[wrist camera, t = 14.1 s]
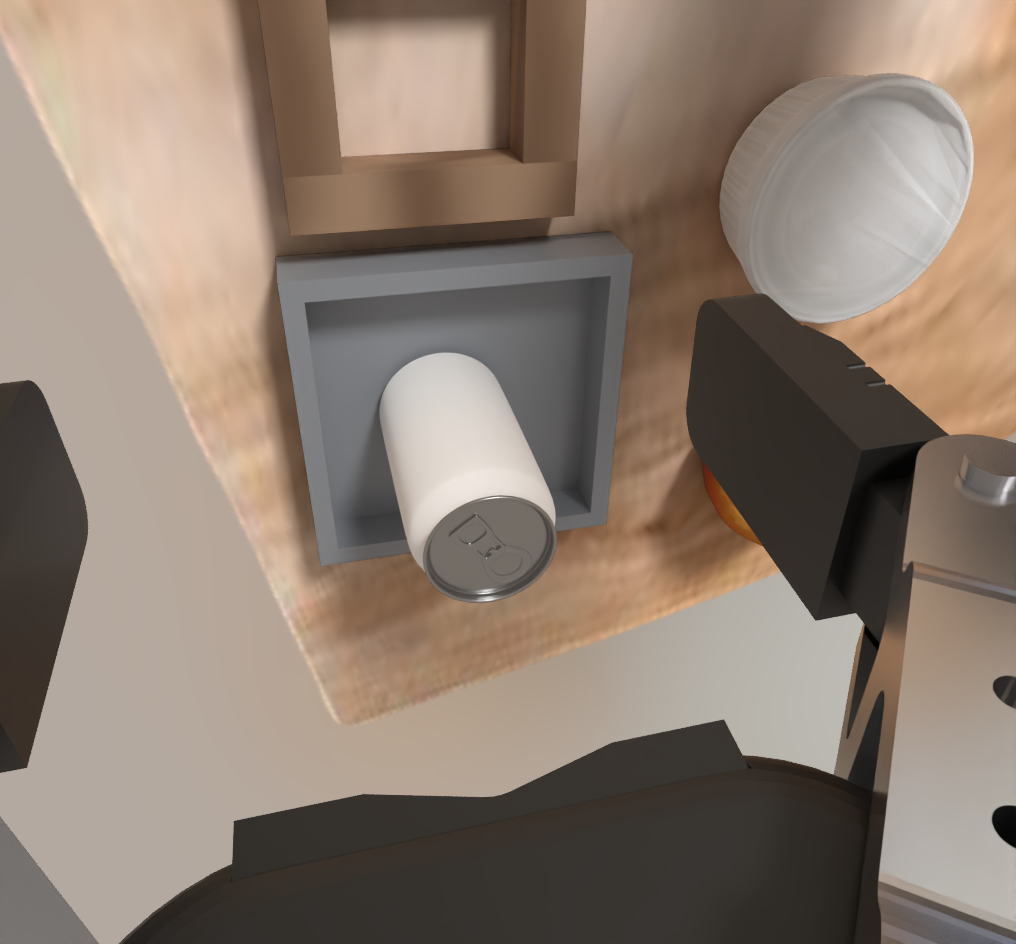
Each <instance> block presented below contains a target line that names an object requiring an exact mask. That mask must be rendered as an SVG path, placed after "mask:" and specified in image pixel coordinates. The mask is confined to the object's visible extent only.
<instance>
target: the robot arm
mask: <svg viewBox="0 0 1016 944" xmlns="http://www.w3.org/2000/svg"><path fill="white" fill-rule="evenodd" d="M686 415H687V425H688V431H689V435H690V438H691V441H692V444H693V446H694V448H695V450H696V452H697V453H698V455H699V456H700V457H701V459H702V460H703V462H704V463H705V465H706V466H707V467H708V469H709V470H710V472H711V473H712V474H713V476H714V477H715V479H716V480H717V482H718V483H719V484H720V486H721V487H722V489H723V490H724V491H725V493H726V494H727V496H728V497H729V499H730V500H731V501H732V503H733V504H734V506H735V507H736V508H737V510H738V511H739V513H740V514H741V516H742V517H743V518H744V520H745V521H746V523H747V524H748V525H749V527H750V528H751V530H752V531H753V533H754V534H755V535H756V537H757V538H758V540H759V541H760V542H761V544H762V545H763V547H764V548H765V550H766V551H767V552H768V554H769V555H770V557H771V558H772V559H773V561H774V562H775V564H776V565H777V567H778V568H779V569H780V571H781V572H782V574H783V575H784V576H785V578H786V579H787V581H788V582H789V583H790V585H791V586H792V588H793V589H794V591H795V592H796V593H797V595H798V596H799V598H800V599H801V601H802V602H803V603H804V605H805V606H806V608H807V609H808V610H809V612H810V613H811V615H812V616H813V618H814V619H815V620H822V619H826V618H832V617H837V616H842V615H847V614H853V613H857V615H858V616H859V617H860V618H861V620H862V621H863V623H864V624H863V627H862V630H861V633H860V636H859V639H858V643H857V646H856V652H855V657H854V663H853V669H852V675H851V681H850V686H849V692H848V698H847V703H846V709H845V715H844V721H843V727H842V732H841V738H840V744H839V750H838V755H837V761H836V766H835V770H834V775H833V774H830V773H827V772H824V771H821V770H819V769H816V768H813V767H809V766H805V765H801V764H797V763H793V762H788V761H785V760H779V759H772V758H765V757H758V756H743V755H742V753H741V751H740V750H739V748H738V746H737V744H736V742H735V740H734V738H733V736H732V734H731V732H730V730H729V729H728V727H727V725H726V723H725V721H724V720H719V721H715V722H710V723H705V724H700V725H695V726H690V727H686V728H681V729H676V730H671V731H666V732H661V733H657V734H652V735H647V736H642V737H637V738H632V739H628V740H623V741H618V742H613V743H610V744H608V745H606V746H604V747H602V748H600V749H598V750H596V751H594V752H592V753H590V754H588V755H586V756H583V757H581V758H580V759H577V760H575V761H573V762H571V763H569V764H567V765H565V766H563V767H561V768H558V769H556V770H554V771H552V772H550V773H548V774H546V775H544V776H542V777H540V778H538V779H536V780H533V781H531V782H529V783H527V784H525V785H523V786H521V787H519V788H517V789H515V790H513V791H511V792H508V793H505V794H503V795H499V796H494V797H453V796H412V795H372V794H371V795H369V794H362V795H357V796H353V797H348V798H343V799H339V800H333V801H328V802H324V803H319V804H314V805H309V806H304V807H299V808H295V809H290V810H285V811H280V812H275V813H270V814H266V815H261V816H256V817H251V818H247V819H242V820H237V821H234V834H233V860H232V864H231V865H229V866H227V867H225V868H222V869H220V870H218V871H216V872H214V873H212V874H210V875H209V876H207V877H205V878H204V879H202V880H200V881H199V882H197V883H195V884H194V885H192V886H190V887H189V888H187V889H185V890H184V891H182V892H181V893H179V894H178V895H176V896H175V897H174V898H172V899H171V900H170V901H168V902H167V903H166V904H164V905H163V906H162V907H161V908H159V909H157V910H156V911H155V912H153V913H152V914H151V915H150V916H149V917H148V918H146V919H145V920H144V921H143V922H142V923H141V924H140V925H139V926H137V927H136V928H135V929H134V930H133V931H132V932H131V933H130V934H128V935H127V936H126V937H125V938H124V939H123V940H122V941H121V942H120V943H119V944H1016V443H1012V442H1009V441H1006V440H1002V439H998V438H994V437H988V436H982V435H970V434H961V435H948V434H947V433H946V432H945V431H944V430H942V429H941V428H940V427H939V426H938V425H937V424H936V423H934V422H933V421H932V420H931V419H930V418H929V417H927V416H926V415H925V414H924V413H923V412H922V411H921V410H919V409H918V408H917V407H916V406H915V405H914V404H912V403H911V402H910V401H909V400H908V399H907V398H906V397H904V396H903V395H902V394H901V393H900V392H899V391H897V390H896V389H895V388H894V387H893V386H892V385H890V384H889V385H886V384H885V379H884V378H882V377H881V376H880V375H879V374H878V373H877V372H875V371H874V370H873V369H872V368H871V367H865V362H864V361H863V360H862V359H860V358H859V357H858V356H857V355H856V354H855V353H853V352H852V351H851V350H850V349H849V348H848V347H847V346H845V345H844V344H843V343H842V342H841V341H838V340H836V339H834V338H832V337H830V336H827V335H825V334H823V333H821V332H819V331H816V330H814V329H812V328H810V327H808V326H806V325H804V326H801V325H800V324H799V323H798V322H797V321H796V320H795V319H794V318H793V317H791V316H790V315H789V314H788V313H787V312H786V311H785V310H784V309H783V308H781V307H780V306H779V305H778V304H777V303H776V302H775V301H774V300H773V299H771V298H770V297H769V296H768V295H766V294H763V293H760V294H751V295H743V296H735V297H726V298H718V299H710V300H707V301H705V302H704V303H703V304H702V306H701V308H700V310H699V313H698V317H697V322H696V331H695V339H694V347H693V356H692V364H691V372H690V381H689V389H688V397H687V407H686ZM87 535H88V519H87V510H86V505H85V500H84V497H83V493H82V490H81V487H80V485H79V482H78V480H77V477H76V475H75V472H74V469H73V467H72V464H71V462H70V459H69V457H68V454H67V452H66V449H65V447H64V445H63V442H62V439H61V437H60V434H59V432H58V429H57V427H56V425H55V422H54V419H53V417H52V414H51V412H50V409H49V407H48V404H47V402H46V399H45V397H44V395H43V393H42V392H41V390H40V389H39V387H38V386H37V385H36V384H35V383H34V382H32V381H30V380H27V381H18V382H10V383H2V384H0V773H1V772H7V771H12V770H18V769H22V768H27V765H28V762H29V758H30V754H31V750H32V746H33V743H34V739H35V735H36V731H37V727H38V723H39V719H40V716H41V712H42V708H43V705H44V701H45V697H46V693H47V690H48V686H49V682H50V678H51V675H52V671H53V667H54V663H55V659H56V656H57V652H58V648H59V644H60V641H61V637H62V633H63V629H64V626H65V622H66V618H67V614H68V610H69V606H70V603H71V599H72V595H73V591H74V588H75V583H76V580H77V576H78V573H79V569H80V565H81V561H82V557H83V554H84V550H85V546H86V541H87ZM0 944H99V943H98V942H97V940H96V939H95V938H94V937H93V935H92V934H91V933H90V931H89V930H88V929H87V928H86V926H85V925H84V924H83V922H82V921H81V920H80V919H79V917H78V916H77V915H76V913H75V912H74V911H73V910H72V908H71V907H70V906H69V904H68V903H67V902H66V901H65V899H64V898H63V897H62V895H61V894H60V893H59V892H58V891H57V889H56V888H55V886H54V885H53V884H52V883H51V881H50V880H49V879H48V877H47V876H46V875H45V874H44V872H43V871H42V870H41V868H40V867H39V866H38V865H37V863H36V862H35V861H34V859H33V858H32V857H31V856H30V854H29V853H28V852H27V850H26V849H25V848H24V847H23V845H22V844H21V843H20V841H19V840H18V839H17V837H16V836H15V835H14V834H13V832H12V831H11V830H10V828H9V827H8V826H7V825H6V823H5V822H4V821H3V819H1V817H0Z"/></svg>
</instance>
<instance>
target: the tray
mask: <svg viewBox="0 0 1016 944" xmlns="http://www.w3.org/2000/svg"><path fill="white" fill-rule="evenodd" d="M632 262H633V253H632V252H631V251H630V250H629V249H628V248H627V247H626V246H625V245H624V244H623V242H622V241H621V240H620V239H619V238H618V237H617V236H616V235H615V234H614V233H613V232H612V231H609V232H596V233H583V234H570V235H556V236H543V237H530V238H517V239H504V240H491V241H477V242H464V243H451V244H438V245H425V246H412V247H399V248H385V249H372V250H359V251H346V252H333V253H320V254H306V255H293V256H280V257H276V267H277V283H278V290H279V296H280V303H281V310H282V316H283V323H284V329H285V336H286V342H287V349H288V355H289V362H290V368H291V375H292V381H293V388H294V394H295V401H296V407H297V414H298V420H299V427H300V433H301V440H302V446H303V453H304V459H305V466H306V472H307V479H308V485H309V492H310V498H311V505H312V511H313V518H314V524H315V531H316V537H317V544H318V550H319V557H320V564H321V566H326V565H332V564H339V563H346V562H353V561H360V560H366V559H373V558H380V557H387V556H394V555H400V554H407V553H411V551H410V548H409V545H408V542H407V538H406V534H405V530H404V526H403V522H402V517H401V513H400V509H399V504H398V500H397V496H396V491H395V487H394V483H393V478H392V474H391V469H390V465H389V460H388V456H387V451H386V447H385V442H384V438H383V433H382V428H381V423H380V413H379V410H380V402H381V398H382V395H383V392H384V390H385V388H386V386H387V384H388V383H389V381H390V380H391V379H392V377H393V376H394V375H395V374H396V373H397V372H398V371H399V370H400V369H402V368H403V367H404V366H406V365H407V364H409V363H410V362H412V361H414V360H416V359H418V358H421V357H423V356H427V355H430V354H435V353H458V354H463V355H466V356H469V357H472V358H474V359H476V360H478V361H479V362H481V363H482V364H484V365H485V366H486V367H487V368H488V369H489V370H490V371H491V372H492V373H493V374H494V376H495V377H496V379H497V381H498V383H499V384H500V386H501V388H502V390H503V392H504V395H505V397H506V399H507V401H508V403H509V405H510V407H511V409H512V411H513V413H514V415H515V418H516V420H517V422H518V424H519V426H520V428H521V430H522V432H523V435H524V437H525V439H526V441H527V443H528V445H529V447H530V450H531V452H532V454H533V456H534V458H535V460H536V462H537V465H538V467H539V469H540V471H541V473H542V475H543V478H544V480H545V482H546V484H547V487H548V489H549V491H550V494H551V496H552V499H553V503H554V506H555V514H556V519H555V529H556V532H557V531H563V530H570V529H577V528H584V527H591V526H597V525H604V524H606V522H607V512H608V502H609V492H610V482H611V472H612V462H613V452H614V442H615V432H616V422H617V412H618V402H619V392H620V382H621V372H622V362H623V352H624V342H625V332H626V322H627V312H628V302H629V292H630V282H631V272H632Z"/></svg>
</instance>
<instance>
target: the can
mask: <svg viewBox="0 0 1016 944" xmlns="http://www.w3.org/2000/svg"><path fill="white" fill-rule="evenodd" d="M379 413H380V423H381V428H382V433H383V438H384V442H385V447H386V451H387V456H388V460H389V465H390V469H391V474H392V478H393V483H394V487H395V491H396V496H397V500H398V504H399V509H400V513H401V517H402V522H403V526H404V530H405V534H406V538H407V542H408V545H409V548H410V551H411V553H412V555H413V557H414V559H415V561H416V562H417V564H418V565H419V566H420V567H421V568H422V569H423V570H424V571H425V573H426V575H427V578H428V579H429V581H430V582H431V584H432V585H433V586H434V587H435V588H436V589H437V590H438V591H440V592H441V593H443V594H444V595H446V596H448V597H450V598H453V599H455V600H459V601H463V602H470V603H485V602H493V601H497V600H501V599H505V598H508V597H510V596H513V595H515V594H517V593H519V592H521V591H523V590H524V589H526V588H527V587H529V586H530V585H531V584H533V583H534V582H535V581H536V580H537V579H538V578H539V577H540V576H541V575H542V574H543V573H544V572H545V571H546V569H547V568H548V566H549V565H550V563H551V561H552V559H553V557H554V554H555V550H556V545H557V534H556V529H555V519H556V514H555V506H554V503H553V499H552V496H551V494H550V491H549V489H548V487H547V484H546V482H545V480H544V478H543V475H542V473H541V471H540V469H539V467H538V465H537V462H536V460H535V458H534V456H533V454H532V452H531V450H530V447H529V445H528V443H527V441H526V439H525V437H524V435H523V432H522V430H521V428H520V426H519V424H518V422H517V420H516V418H515V415H514V413H513V411H512V409H511V407H510V405H509V403H508V401H507V399H506V397H505V395H504V392H503V390H502V388H501V386H500V384H499V383H498V381H497V379H496V377H495V376H494V374H493V373H492V372H491V371H490V370H489V369H488V368H487V367H486V366H485V365H484V364H482V363H481V362H479V361H478V360H476V359H474V358H472V357H469V356H466V355H463V354H458V353H435V354H430V355H427V356H423V357H421V358H418V359H416V360H414V361H412V362H410V363H409V364H407V365H406V366H404V367H403V368H402V369H400V370H399V371H398V372H397V373H396V374H395V375H394V376H393V377H392V379H391V380H390V381H389V383H388V384H387V386H386V388H385V390H384V392H383V395H382V398H381V402H380V410H379Z"/></svg>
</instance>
